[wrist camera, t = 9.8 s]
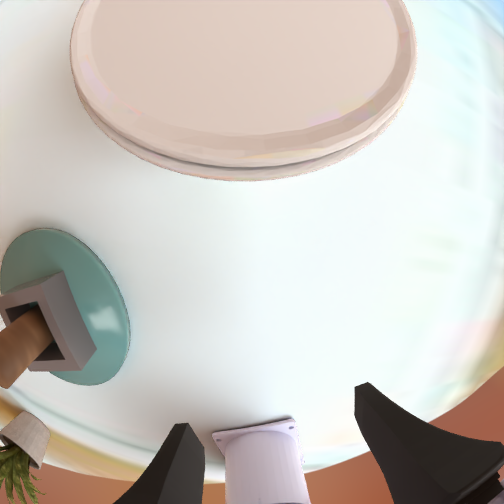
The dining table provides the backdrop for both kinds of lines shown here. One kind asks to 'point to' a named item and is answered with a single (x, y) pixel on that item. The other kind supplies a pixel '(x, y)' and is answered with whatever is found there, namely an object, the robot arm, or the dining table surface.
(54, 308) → the candle dish
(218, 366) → the dining table surface
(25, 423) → the house plant
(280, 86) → the coffee cup
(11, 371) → the walnut peg
